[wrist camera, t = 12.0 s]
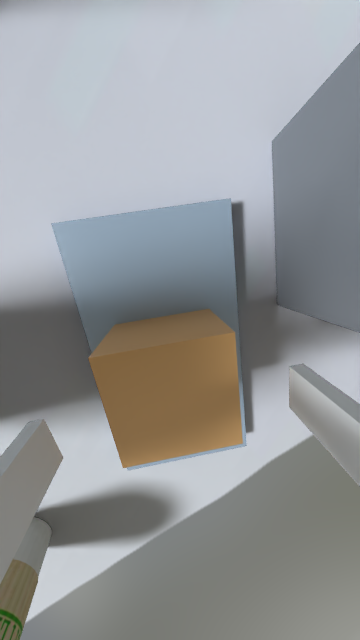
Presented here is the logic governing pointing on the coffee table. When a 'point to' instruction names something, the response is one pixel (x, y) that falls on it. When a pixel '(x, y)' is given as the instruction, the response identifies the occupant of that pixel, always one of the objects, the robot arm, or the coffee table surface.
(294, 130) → the tub
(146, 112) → the coffee table surface
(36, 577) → the coffee cup
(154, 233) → the lid
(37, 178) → the coffee table surface
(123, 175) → the coffee table surface
